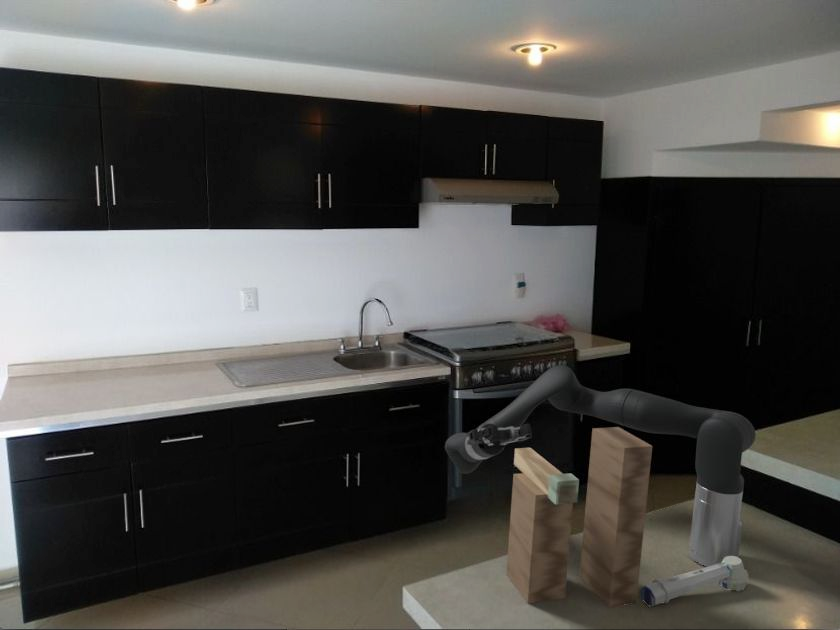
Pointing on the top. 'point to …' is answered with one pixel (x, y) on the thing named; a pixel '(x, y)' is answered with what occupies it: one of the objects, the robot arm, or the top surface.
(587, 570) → the walnut post
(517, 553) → the low walnut block
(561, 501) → the oak rail
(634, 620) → the top surface
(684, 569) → the top surface
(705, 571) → the white tube with head
